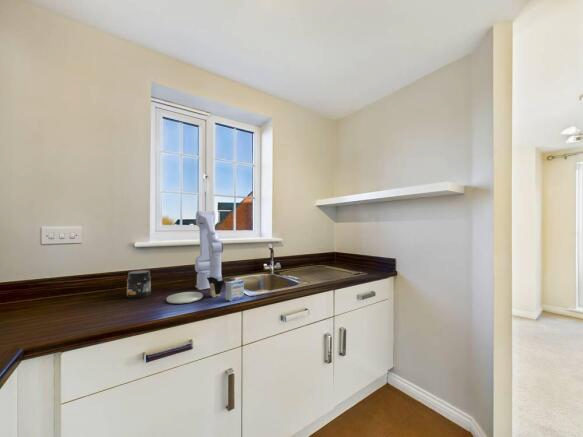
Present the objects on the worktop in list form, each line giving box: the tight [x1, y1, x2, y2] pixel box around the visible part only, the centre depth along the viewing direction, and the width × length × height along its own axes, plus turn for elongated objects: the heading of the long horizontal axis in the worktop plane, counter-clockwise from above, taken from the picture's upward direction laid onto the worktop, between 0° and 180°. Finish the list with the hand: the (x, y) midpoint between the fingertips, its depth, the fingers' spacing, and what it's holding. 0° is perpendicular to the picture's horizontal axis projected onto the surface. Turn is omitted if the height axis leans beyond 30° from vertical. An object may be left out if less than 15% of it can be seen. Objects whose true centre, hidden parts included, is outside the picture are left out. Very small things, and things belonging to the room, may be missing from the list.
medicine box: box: [225, 279, 245, 302], centre depth 119 cm, size 8×4×9 cm, turn 143°
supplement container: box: [126, 269, 152, 299], centre depth 126 cm, size 10×10×12 cm
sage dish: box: [166, 291, 204, 304], centre depth 118 cm, size 16×16×2 cm
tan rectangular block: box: [209, 283, 222, 298], centre depth 125 cm, size 4×4×6 cm
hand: (215, 292), depth 125 cm, fingers open, 7 cm apart
